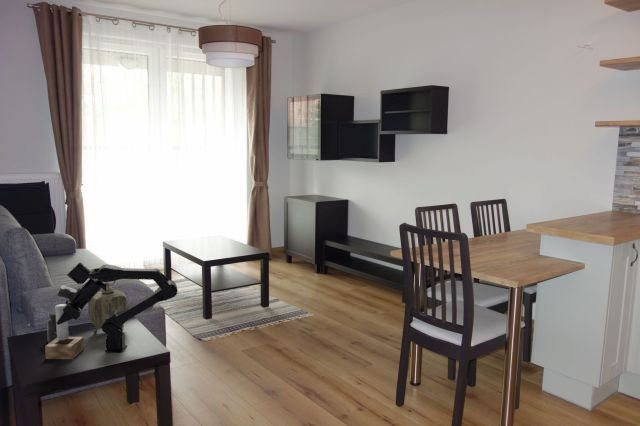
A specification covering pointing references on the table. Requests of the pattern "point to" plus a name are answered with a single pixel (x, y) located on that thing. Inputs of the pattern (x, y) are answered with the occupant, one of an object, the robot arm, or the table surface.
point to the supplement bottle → (51, 327)
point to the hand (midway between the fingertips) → (58, 322)
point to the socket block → (64, 348)
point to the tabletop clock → (106, 305)
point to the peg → (61, 328)
